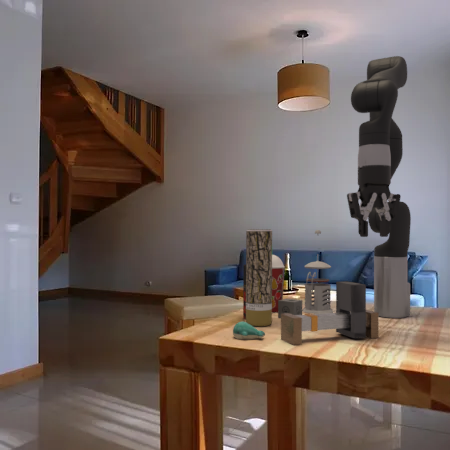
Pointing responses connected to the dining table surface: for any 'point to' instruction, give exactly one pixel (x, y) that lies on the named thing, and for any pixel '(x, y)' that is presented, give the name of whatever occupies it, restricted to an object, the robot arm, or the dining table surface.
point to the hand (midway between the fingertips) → (373, 236)
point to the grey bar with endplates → (322, 324)
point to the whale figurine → (246, 331)
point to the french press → (317, 290)
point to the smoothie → (277, 281)
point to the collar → (352, 307)
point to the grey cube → (289, 307)
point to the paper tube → (259, 277)
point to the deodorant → (244, 292)
